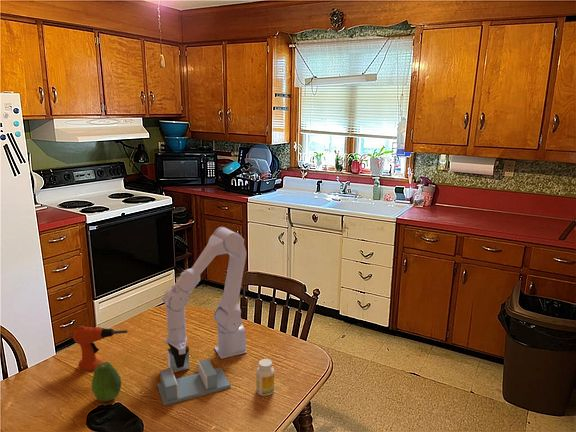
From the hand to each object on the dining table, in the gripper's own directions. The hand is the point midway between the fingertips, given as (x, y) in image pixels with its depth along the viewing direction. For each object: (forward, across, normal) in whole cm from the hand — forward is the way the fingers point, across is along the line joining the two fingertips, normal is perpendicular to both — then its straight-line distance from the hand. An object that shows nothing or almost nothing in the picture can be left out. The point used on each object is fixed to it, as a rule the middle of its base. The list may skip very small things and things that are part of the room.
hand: (178, 363), depth 142 cm
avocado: (+2, +7, -22) cm, 23 cm away
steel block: (+2, 0, 0) cm, 2 cm away
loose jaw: (+1, +12, +6) cm, 14 cm away
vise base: (+2, +12, +2) cm, 12 cm away
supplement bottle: (+2, +23, +21) cm, 31 cm away
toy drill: (+2, -11, -22) cm, 25 cm away
